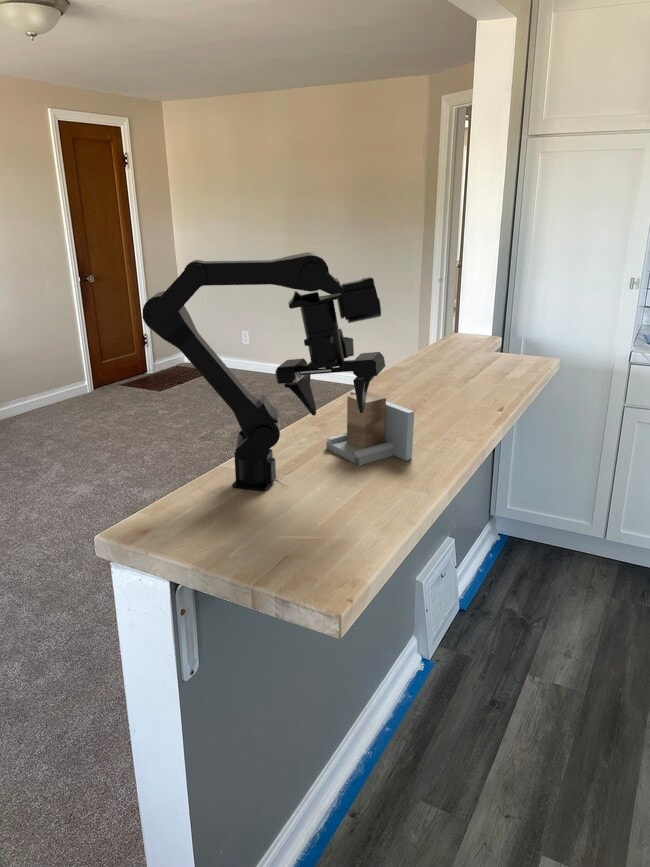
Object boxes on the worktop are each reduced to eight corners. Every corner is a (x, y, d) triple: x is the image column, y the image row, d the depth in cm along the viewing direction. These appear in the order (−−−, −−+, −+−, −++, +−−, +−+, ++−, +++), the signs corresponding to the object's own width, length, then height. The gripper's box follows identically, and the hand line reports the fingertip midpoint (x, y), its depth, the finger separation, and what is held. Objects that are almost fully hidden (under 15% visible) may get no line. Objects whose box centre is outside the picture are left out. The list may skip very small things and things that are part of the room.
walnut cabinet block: (363, 450, 129) (364, 402, 125) (346, 442, 133) (347, 396, 129) (384, 444, 132) (386, 398, 128) (367, 436, 136) (368, 391, 132)
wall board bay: (371, 471, 123) (372, 422, 119) (316, 443, 136) (316, 398, 133) (411, 458, 128) (414, 411, 125) (355, 433, 142) (356, 390, 139)
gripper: (386, 311, 112) (399, 394, 118) (290, 322, 120) (307, 400, 125) (368, 327, 103) (383, 417, 108) (265, 338, 110) (284, 422, 116)
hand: (338, 413), depth 115 cm, fingers open, 9 cm apart
